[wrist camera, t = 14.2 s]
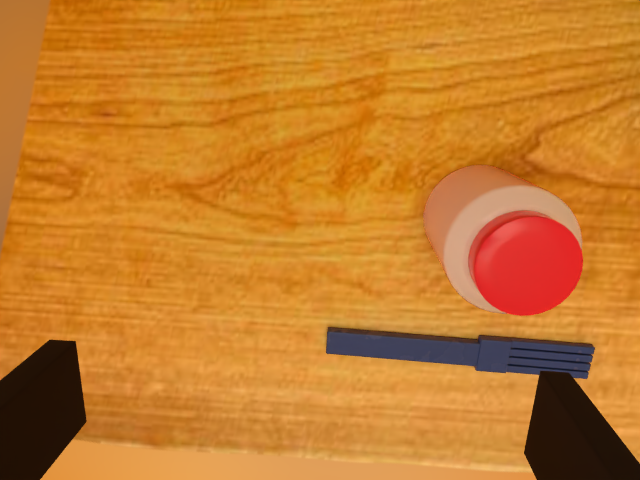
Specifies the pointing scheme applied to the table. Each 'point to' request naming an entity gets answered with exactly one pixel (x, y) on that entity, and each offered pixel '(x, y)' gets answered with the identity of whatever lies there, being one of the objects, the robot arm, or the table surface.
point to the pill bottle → (503, 240)
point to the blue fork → (466, 351)
